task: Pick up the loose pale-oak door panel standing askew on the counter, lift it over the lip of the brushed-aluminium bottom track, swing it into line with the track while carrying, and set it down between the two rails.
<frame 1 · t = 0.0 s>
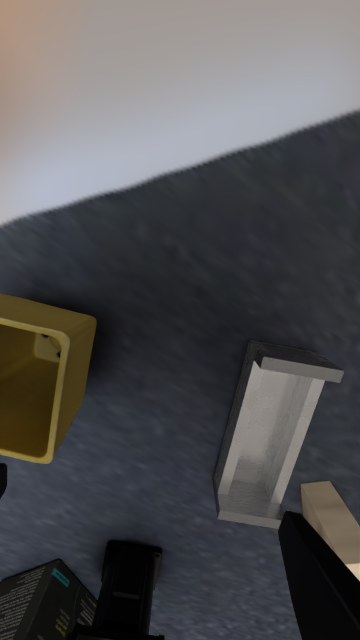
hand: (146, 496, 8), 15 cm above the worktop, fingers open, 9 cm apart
bottom track: (260, 420, 24), on the worktop
door panel: (316, 510, 26), on the worktop
tampon box: (55, 593, 31), on the worktop
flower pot: (64, 337, 22), on the worktop
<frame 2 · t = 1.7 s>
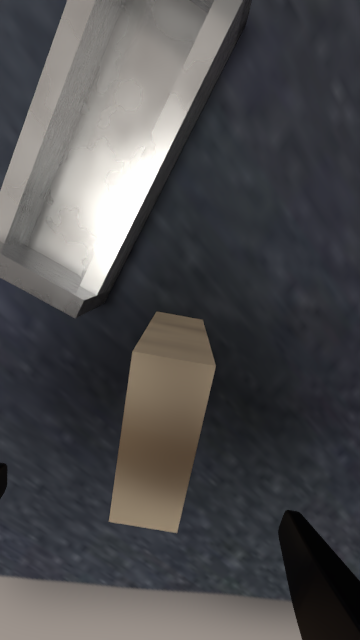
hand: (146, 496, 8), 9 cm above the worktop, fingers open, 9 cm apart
bottom track: (116, 150, 13), on the worktop
door panel: (169, 371, 16), on the worktop
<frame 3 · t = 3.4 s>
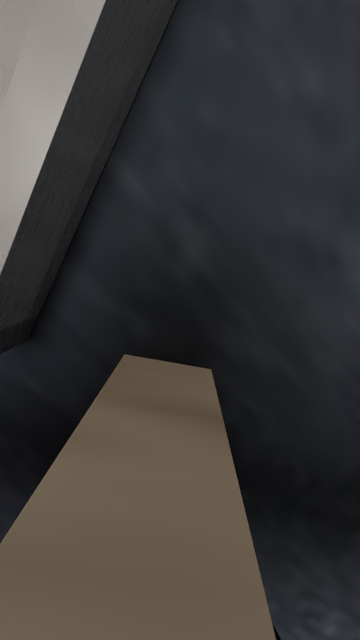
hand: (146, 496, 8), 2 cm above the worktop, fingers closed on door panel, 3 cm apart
bottom track: (27, 19, 6), on the worktop
door panel: (150, 457, 9), on the worktop, touching gripper
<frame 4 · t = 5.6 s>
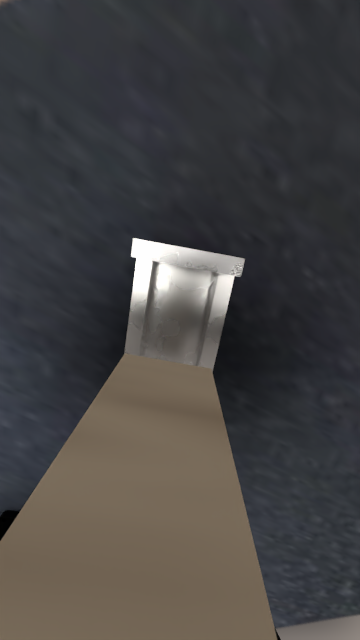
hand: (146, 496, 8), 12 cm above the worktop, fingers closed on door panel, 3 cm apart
bottom track: (169, 355, 19), on the worktop
door panel: (150, 456, 9), point 10 cm above the worktop, touching gripper
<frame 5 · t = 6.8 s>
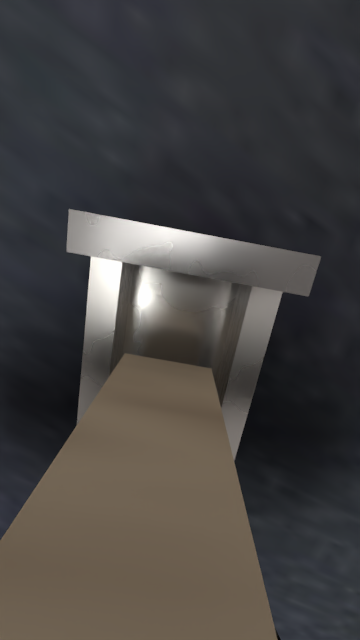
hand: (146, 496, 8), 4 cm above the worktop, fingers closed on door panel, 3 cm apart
bottom track: (160, 413, 12), on the worktop
door panel: (150, 456, 9), point 3 cm above the worktop, touching gripper
when the fingers open (3 cm above the worktop, at t = 7.6 s): door panel drops 1 cm, resting on bottom track.
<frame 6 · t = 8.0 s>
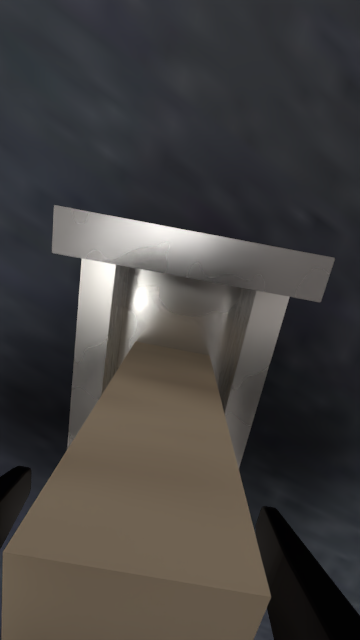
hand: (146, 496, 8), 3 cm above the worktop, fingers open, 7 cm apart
bottom track: (158, 423, 11), on the worktop
door panel: (155, 432, 10), point 1 cm above the worktop, touching bottom track
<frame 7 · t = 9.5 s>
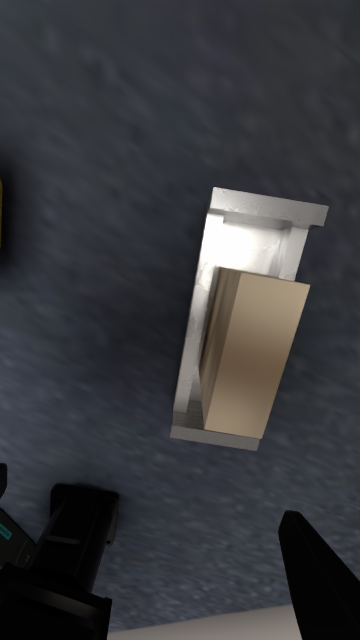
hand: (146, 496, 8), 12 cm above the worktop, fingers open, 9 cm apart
bottom track: (227, 321, 18), on the worktop
door panel: (228, 323, 18), point 1 cm above the worktop, touching bottom track
tampon box: (2, 550, 26), on the worktop
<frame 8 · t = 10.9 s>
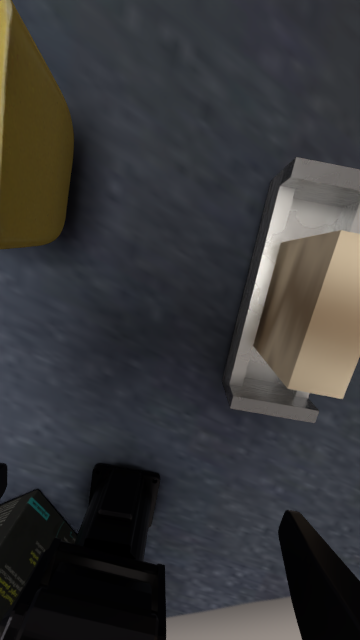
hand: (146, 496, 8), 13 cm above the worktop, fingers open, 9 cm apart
bottom track: (281, 298, 19), on the worktop
door panel: (283, 299, 18), point 1 cm above the worktop, touching bottom track
tampon box: (34, 534, 26), on the worktop
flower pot: (36, 183, 18), on the worktop
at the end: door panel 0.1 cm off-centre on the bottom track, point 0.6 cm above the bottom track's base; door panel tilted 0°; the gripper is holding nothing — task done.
